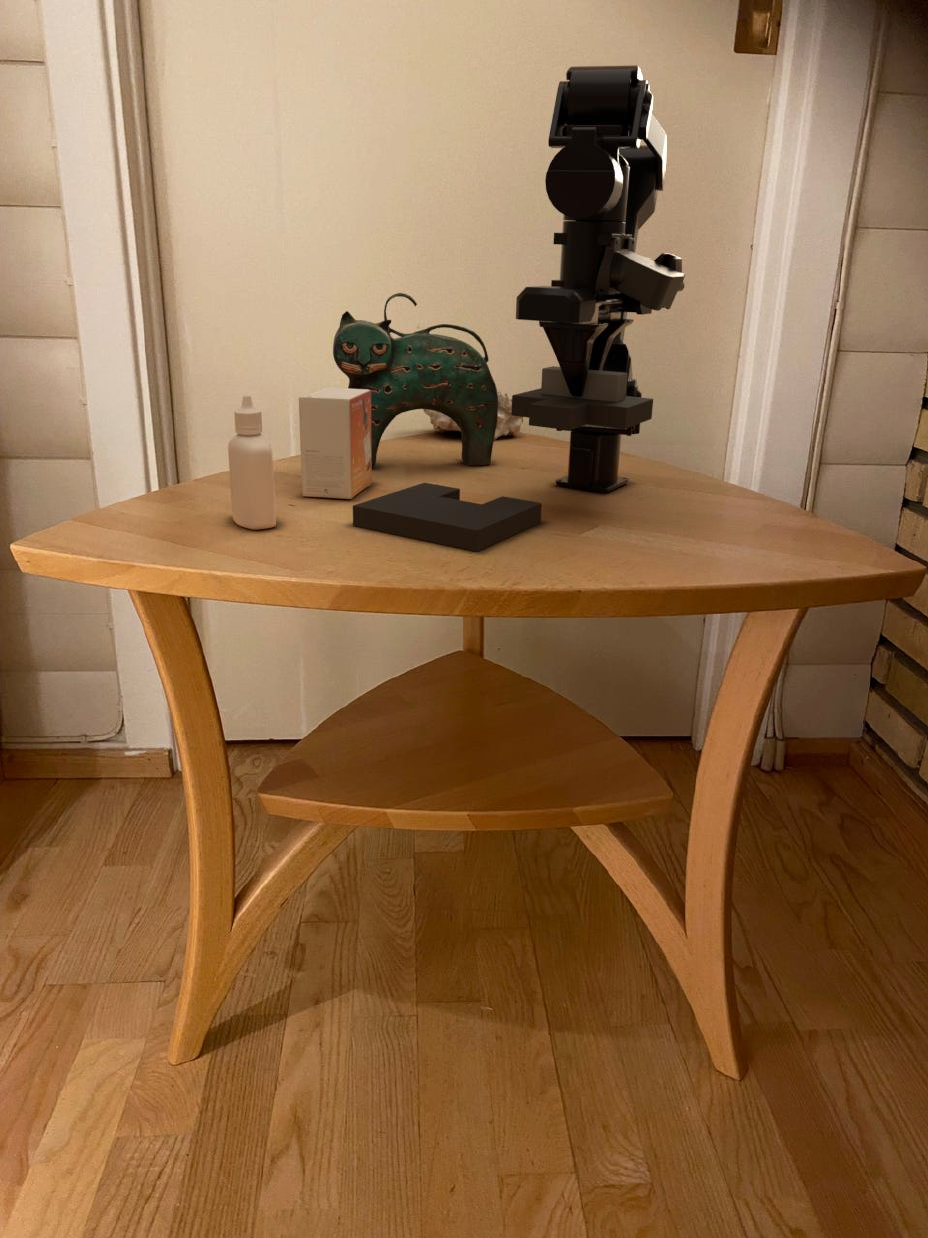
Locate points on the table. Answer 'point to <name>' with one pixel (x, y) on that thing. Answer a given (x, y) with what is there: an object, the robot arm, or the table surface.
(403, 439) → the table surface
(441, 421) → the seashell
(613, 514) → the table surface
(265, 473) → the eye dropper bottle
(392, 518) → the charcoal pad
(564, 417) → the dark grey stepped block
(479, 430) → the ceramic cat
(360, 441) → the small box
